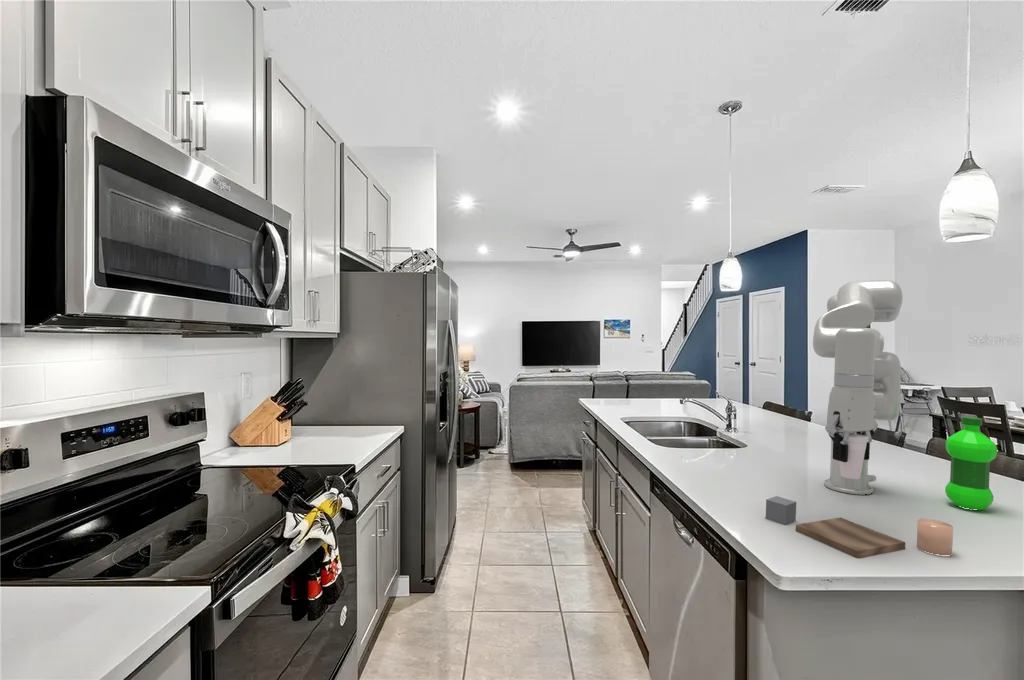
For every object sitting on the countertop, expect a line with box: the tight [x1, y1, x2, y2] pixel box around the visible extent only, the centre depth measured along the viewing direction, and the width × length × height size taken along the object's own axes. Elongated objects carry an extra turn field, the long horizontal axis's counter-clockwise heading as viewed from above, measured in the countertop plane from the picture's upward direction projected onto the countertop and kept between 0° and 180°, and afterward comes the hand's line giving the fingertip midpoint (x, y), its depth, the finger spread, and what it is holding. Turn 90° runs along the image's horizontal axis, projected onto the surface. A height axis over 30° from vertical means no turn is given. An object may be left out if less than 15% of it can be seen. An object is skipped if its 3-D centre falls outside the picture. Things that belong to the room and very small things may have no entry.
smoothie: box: [839, 432, 869, 479], centre depth 114 cm, size 6×6×14 cm
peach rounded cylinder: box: [916, 518, 954, 555], centre depth 109 cm, size 6×6×6 cm
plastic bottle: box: [944, 416, 998, 511], centre depth 137 cm, size 10×10×25 cm
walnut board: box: [795, 517, 906, 559], centre depth 115 cm, size 15×15×2 cm
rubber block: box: [765, 495, 797, 526], centre depth 126 cm, size 5×5×5 cm
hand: (850, 458), depth 114 cm, fingers closed on smoothie, 6 cm apart
